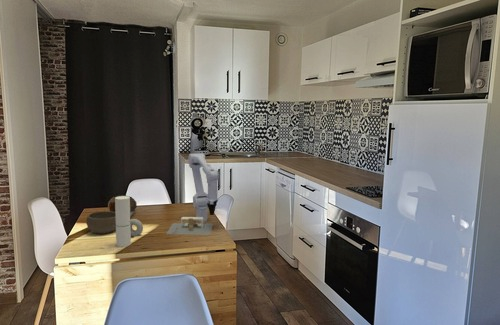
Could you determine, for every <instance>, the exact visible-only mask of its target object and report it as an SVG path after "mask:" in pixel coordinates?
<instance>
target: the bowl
mask: <svg viewBox="0 0 500 325" xmlns="http://www.w3.org/2000/svg"><path fill="white" fill-rule="evenodd" d="M86 226H87V228H88V229H89V231H91V232H92V233H95V234H104V235H105V234H108V233H112V232H114V231H116V215H115V212H110V211H109V210H108V211H105V210H104V211H95V212H91V213H90V214H88V215H87V218H86Z"/></svg>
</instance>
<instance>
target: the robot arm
mask: <svg viewBox="0 0 500 325" xmlns="http://www.w3.org/2000/svg"><path fill="white" fill-rule="evenodd" d="M187 161H188V165H189V168H191V170H192V177H193V182H194V188H195V194H194V195H193V196H192V205H193V208H195V217H203V223H205V222H207V221H208V212H209V215H210V216H214V215H215V211H216V206H217V203H218V201H219V200H218V181H219V179H220V172H219V171H218V170H215V169H214V168H213V166H212V165H211V164H210V163H208V162H207V161H206V155H205V153H204V152H201V153H189V155H188V156H187ZM201 168H202V171H203V173H204V174H205V177H206V184H207V192H205V190H204V186H203V180H202V174H201ZM197 223H201V220H197Z"/></svg>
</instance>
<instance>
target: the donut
mask: <svg viewBox="0 0 500 325" xmlns="http://www.w3.org/2000/svg"><path fill="white" fill-rule="evenodd" d="M133 226H135V227H136V229H133ZM130 231H131V237H137V236H140V235H141V234H142V233H143V231H144V226H143V223H142V222H141V221H140V220H139V219H137V218H130Z"/></svg>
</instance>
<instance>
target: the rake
mask: <svg viewBox="0 0 500 325" xmlns="http://www.w3.org/2000/svg"><path fill="white" fill-rule="evenodd" d="M188 223H189V224H188V226H189V231H193V226H198V224H193V218H189V220H188Z"/></svg>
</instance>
